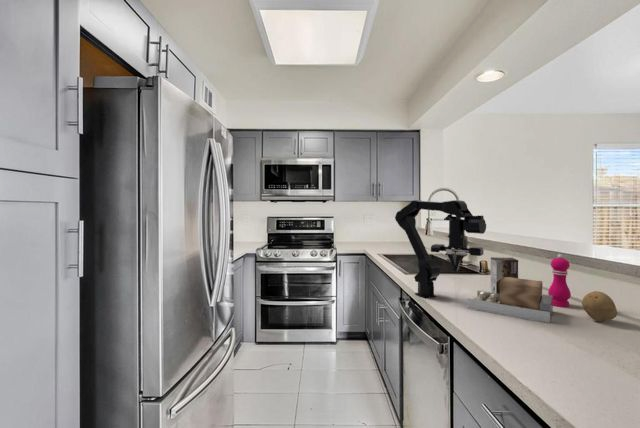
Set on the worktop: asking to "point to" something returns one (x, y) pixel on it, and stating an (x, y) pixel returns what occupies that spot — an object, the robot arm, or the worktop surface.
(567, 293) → the pepper mill
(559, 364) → the worktop surface
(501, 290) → the slab
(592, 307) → the potato
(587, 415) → the worktop surface
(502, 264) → the coffee box
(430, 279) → the robot arm
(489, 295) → the track
